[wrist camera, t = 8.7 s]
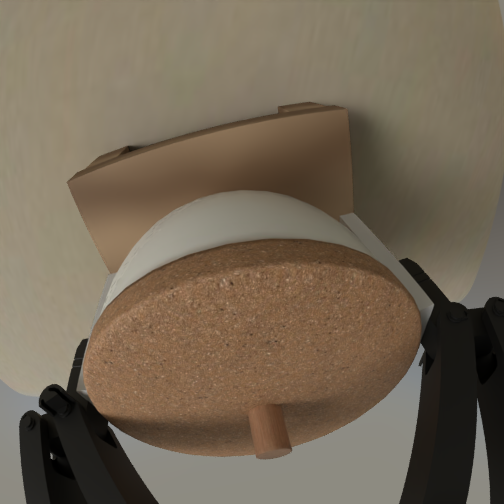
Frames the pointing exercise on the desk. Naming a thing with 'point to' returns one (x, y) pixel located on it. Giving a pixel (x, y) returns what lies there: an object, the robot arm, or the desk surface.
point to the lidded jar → (247, 329)
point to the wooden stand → (217, 172)
